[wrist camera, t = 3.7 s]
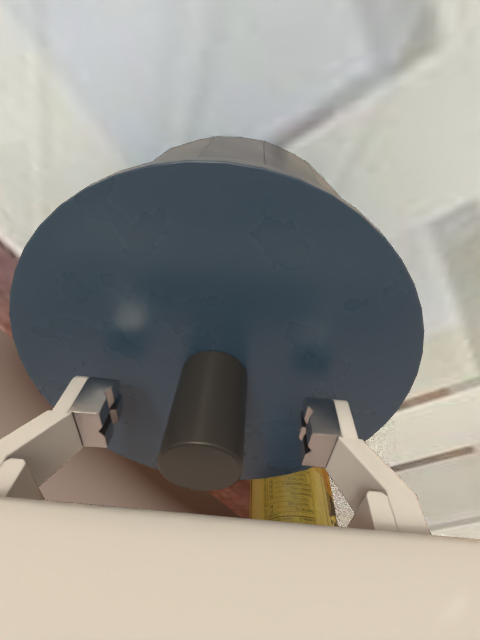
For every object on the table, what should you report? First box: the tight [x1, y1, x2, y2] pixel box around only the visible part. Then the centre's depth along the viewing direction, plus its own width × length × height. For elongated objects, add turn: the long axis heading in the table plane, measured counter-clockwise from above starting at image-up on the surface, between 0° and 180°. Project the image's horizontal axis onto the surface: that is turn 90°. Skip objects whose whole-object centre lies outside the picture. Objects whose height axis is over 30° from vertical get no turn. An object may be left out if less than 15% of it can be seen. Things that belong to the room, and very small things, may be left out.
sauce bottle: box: [250, 467, 338, 527], centre depth 22 cm, size 7×6×20 cm
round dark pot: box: [152, 136, 340, 197], centre depth 17 cm, size 15×15×8 cm
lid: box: [9, 157, 424, 491], centre depth 12 cm, size 16×16×5 cm
